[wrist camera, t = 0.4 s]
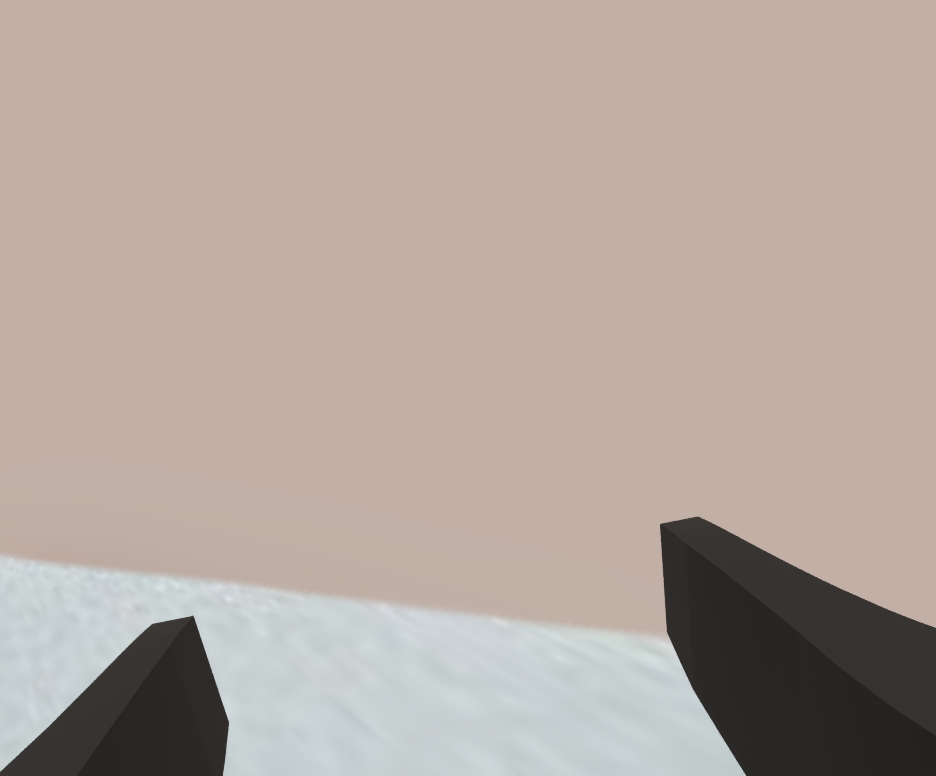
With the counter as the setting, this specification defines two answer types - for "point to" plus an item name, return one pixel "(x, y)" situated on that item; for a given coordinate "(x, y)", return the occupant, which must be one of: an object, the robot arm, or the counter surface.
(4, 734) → the counter surface
